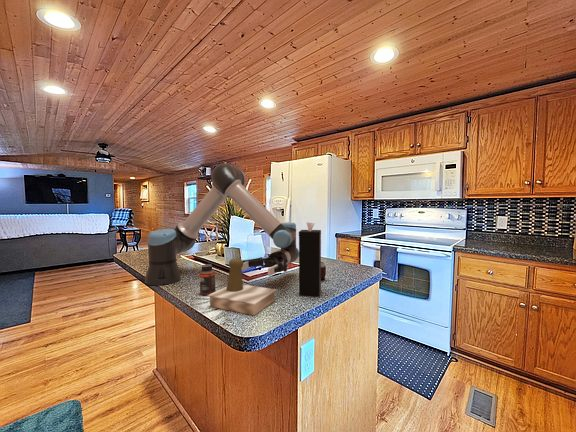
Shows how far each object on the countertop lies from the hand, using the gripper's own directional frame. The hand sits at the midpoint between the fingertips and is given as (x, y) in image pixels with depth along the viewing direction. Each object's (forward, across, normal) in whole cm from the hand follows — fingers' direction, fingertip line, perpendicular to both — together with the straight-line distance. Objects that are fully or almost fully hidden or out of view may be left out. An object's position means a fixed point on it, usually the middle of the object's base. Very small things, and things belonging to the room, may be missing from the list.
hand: (253, 270), depth 98 cm
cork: (+4, +5, -7) cm, 9 cm away
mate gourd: (-32, -14, -11) cm, 37 cm away
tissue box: (-14, -17, -11) cm, 25 cm away
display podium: (+6, 0, -11) cm, 12 cm away
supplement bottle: (+3, +20, -11) cm, 22 cm away
